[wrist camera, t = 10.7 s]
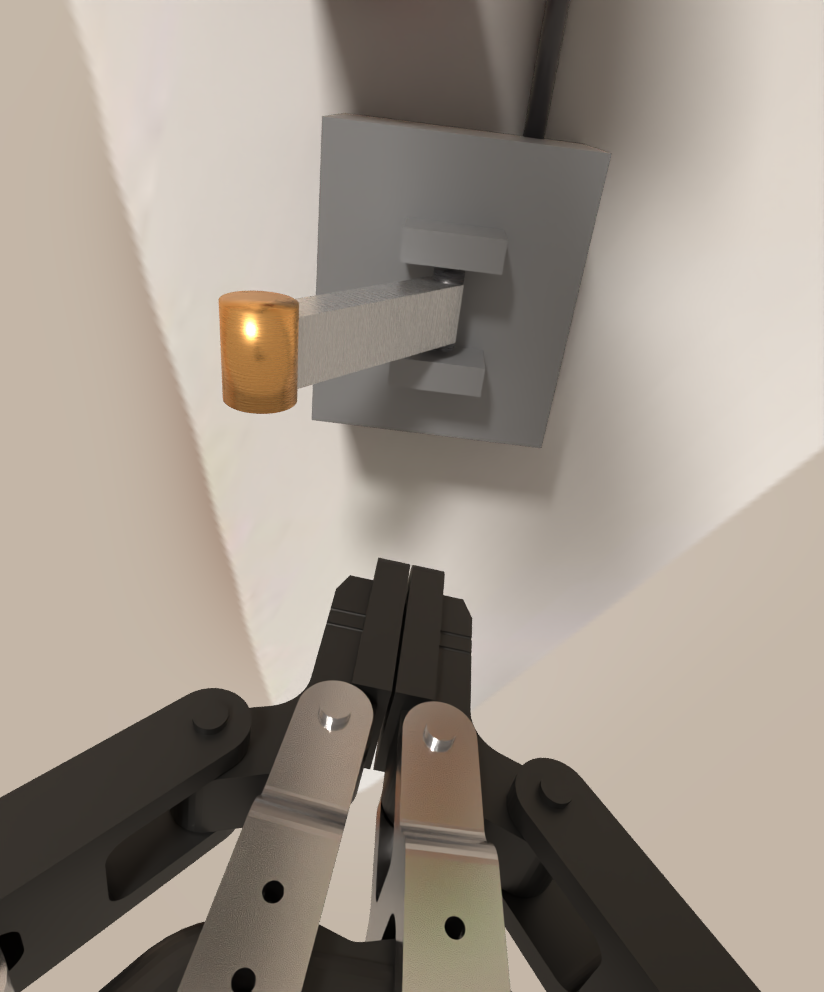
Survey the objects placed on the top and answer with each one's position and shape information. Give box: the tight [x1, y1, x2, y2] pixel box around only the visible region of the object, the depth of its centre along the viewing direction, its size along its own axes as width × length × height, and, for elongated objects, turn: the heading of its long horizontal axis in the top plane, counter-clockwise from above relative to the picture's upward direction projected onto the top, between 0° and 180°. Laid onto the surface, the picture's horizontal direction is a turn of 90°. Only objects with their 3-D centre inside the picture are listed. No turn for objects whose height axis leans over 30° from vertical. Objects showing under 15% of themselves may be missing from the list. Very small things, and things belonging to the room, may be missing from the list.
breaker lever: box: [219, 267, 465, 414], centre depth 30 cm, size 4×3×14 cm
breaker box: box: [312, 0, 611, 448], centre depth 35 cm, size 29×14×11 cm, turn 174°
